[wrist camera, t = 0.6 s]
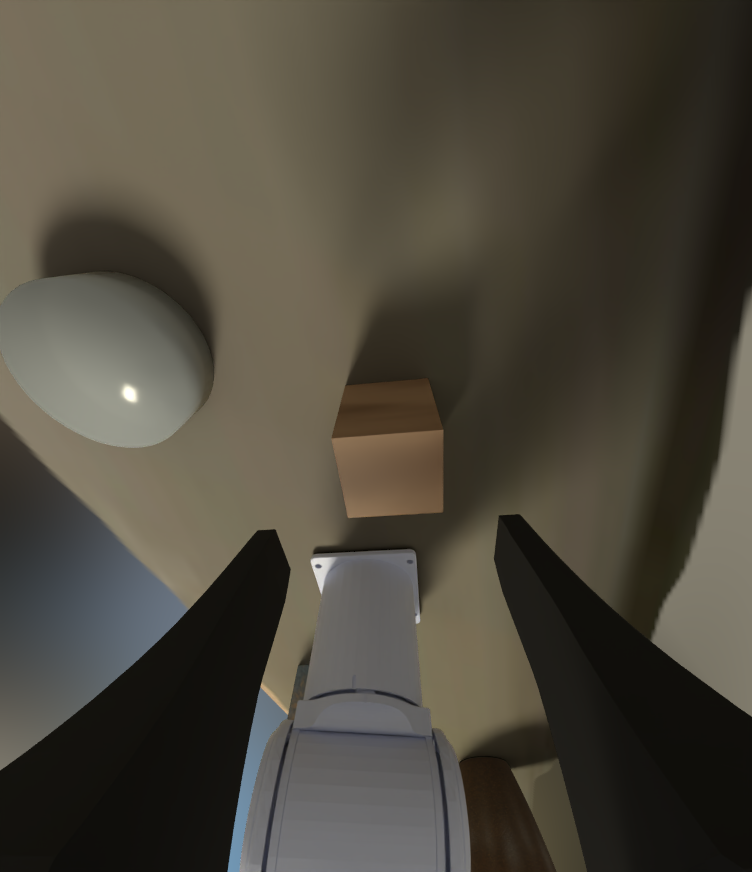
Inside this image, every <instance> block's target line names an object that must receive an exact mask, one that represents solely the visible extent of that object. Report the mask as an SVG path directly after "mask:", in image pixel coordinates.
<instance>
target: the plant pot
mask: <svg viewBox="0 0 752 872" xmlns="http://www.w3.org/2000/svg"><path fill="white" fill-rule="evenodd" d="M459 767H460V771H461V776H462V781H463V786H464V792H465V799H466V806H467V814H468V824H469V836H470V854H471V872H556V869H555V867H554V864H553V862H552V859H551V857H550V854H549V852H548V850H547V847H546V845H545V842H544V840H543V837H542V835H541V833H540V831H539V828H538V826H537V824H536V822H535V819H534V817H533V814H532V812H531V810H530V808H529V806H528V804H527V801H526V799H525V797H524V795H523V793H522V791H521V789H520V787H519V785H518V783H517V781H516V779H515V777H514V775H513V773H512V771H511V769H510V767H509V765H508V763H507V762H506V761H504V760H501V759H498V758H493V757H474V758H469V759H466V760H463V761H462V762H460V764H459Z"/></svg>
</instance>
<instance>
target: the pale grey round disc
mask: <svg viewBox="0 0 752 872" xmlns="http://www.w3.org/2000/svg"><path fill="white" fill-rule="evenodd" d="M0 351H1V353H2V356H3V358H4V361H5V363H6V365H7V367H8V369H9V370H10V372H11V374H12V375H13V377H14V378H15V380H16V381H17V383H18V384H19V385H20V387H21V388H22V389H23V390H24V392H25V393H26V394H27V395H28V396H29V397H30V398H31V399H32V400H33V401H34V403H36V404H37V405H38V406H39V407H40V408H41V409H42V410H43V411H44V412H46V413H47V414H48V415H50V416H51V417H52V418H53V419H55V420H56V421H58V422H59V423H61V424H62V425H64V426H65V427H67V428H69V429H71V430H72V431H74V432H76V433H78V434H80V435H82V436H84V437H87V438H89V439H92V440H95V441H97V442H101V443H104V444H108V445H112V446H118V447H128V448H138V447H146V446H151V445H154V444H158V443H160V442H162V441H164V440H166V439H167V438H169V437H170V436H172V435H173V434H174V433H175V432H176V431H177V430H178V429H179V428H180V427H181V426H182V425H183V424H184V423H185V422H186V421H187V420H189V419H190V418H191V417H192V416H193V415H194V414H195V413H196V412H197V411H198V410H199V409H200V408H201V407H202V406H203V405H204V404H205V402H206V401H207V400H208V398H209V395H210V393H211V390H212V387H213V381H214V366H213V361H212V356H211V353H210V350H209V347H208V345H207V342H206V340H205V338H204V336H203V334H202V333H201V331H200V329H199V328H198V326H197V325H196V323H195V322H194V321H193V319H192V318H191V317H190V316H189V315H188V313H187V312H186V311H185V310H184V309H183V308H182V307H181V306H180V305H179V304H178V303H177V302H176V301H175V300H173V299H172V298H171V297H169V296H168V295H167V294H166V293H164V292H163V291H161V290H160V289H158V288H156V287H155V286H153V285H151V284H149V283H147V282H145V281H143V280H141V279H139V278H136V277H133V276H130V275H127V274H123V273H118V272H110V271H96V272H88V273H80V274H73V275H65V276H57V277H50V278H42V279H37V280H32V281H29V282H26V283H24V284H22V285H19V286H18V287H17V288H15V289H14V290H12V291H11V292H10V293H9V294H8V295H7V297H6V298H5V299H4V301H3V303H2V304H1V306H0Z"/></svg>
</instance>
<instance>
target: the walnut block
mask: <svg viewBox="0 0 752 872" xmlns="http://www.w3.org/2000/svg"><path fill="white" fill-rule="evenodd" d="M332 443H333V448H334V453H335V458H336V463H337V467H338V472H339V477H340V482H341V487H342V491H343V496H344V501H345V506H346V511H347V515H348V518H357V517H374V516H391V515H408V514H425V513H442V512H443V427H442V424H441V420H440V417H439V413H438V410H437V407H436V403H435V400H434V397H433V393H432V390H431V386H430V383H429V380H428V378H424V379H413V380H402V381H391V382H380V383H369V384H357V385H346V386H345V389H344V393H343V397H342V400H341V404H340V408H339V412H338V416H337V419H336V423H335V427H334V431H333V435H332Z"/></svg>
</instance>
